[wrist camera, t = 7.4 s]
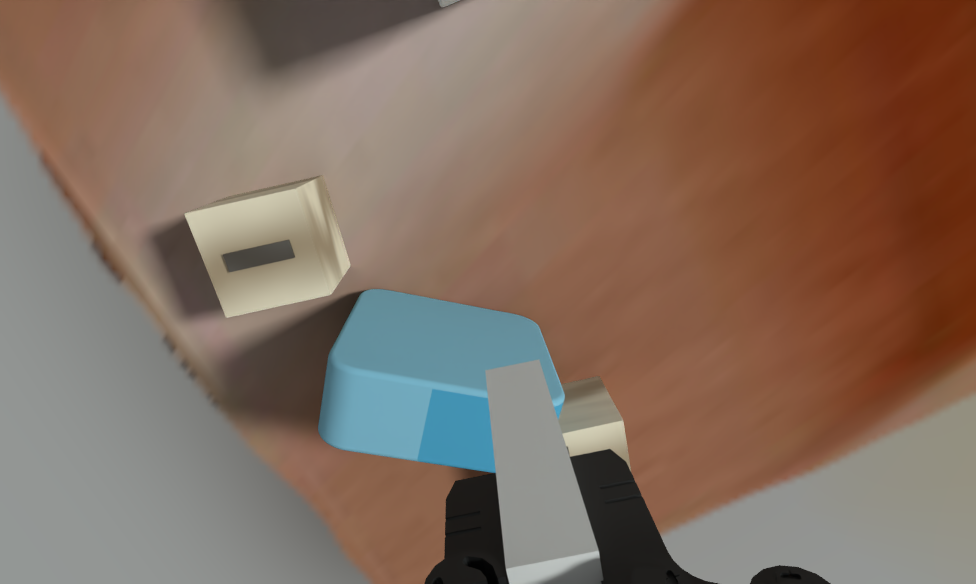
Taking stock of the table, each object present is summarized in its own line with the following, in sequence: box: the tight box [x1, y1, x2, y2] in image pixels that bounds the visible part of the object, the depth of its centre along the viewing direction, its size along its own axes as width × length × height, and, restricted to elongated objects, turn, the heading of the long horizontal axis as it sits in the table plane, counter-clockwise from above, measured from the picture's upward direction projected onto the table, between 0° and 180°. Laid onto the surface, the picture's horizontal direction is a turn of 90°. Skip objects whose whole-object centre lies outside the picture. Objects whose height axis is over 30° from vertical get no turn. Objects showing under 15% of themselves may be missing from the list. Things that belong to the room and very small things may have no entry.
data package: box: [318, 289, 565, 473], centre depth 32 cm, size 12×4×12 cm, turn 77°
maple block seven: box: [558, 376, 631, 471], centre depth 37 cm, size 6×6×6 cm
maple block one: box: [184, 175, 351, 318], centre depth 32 cm, size 6×6×6 cm
